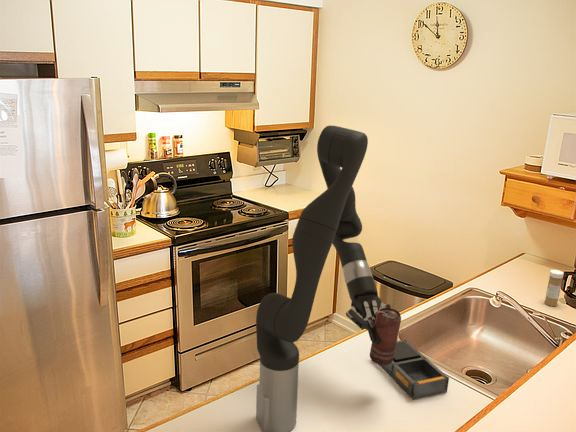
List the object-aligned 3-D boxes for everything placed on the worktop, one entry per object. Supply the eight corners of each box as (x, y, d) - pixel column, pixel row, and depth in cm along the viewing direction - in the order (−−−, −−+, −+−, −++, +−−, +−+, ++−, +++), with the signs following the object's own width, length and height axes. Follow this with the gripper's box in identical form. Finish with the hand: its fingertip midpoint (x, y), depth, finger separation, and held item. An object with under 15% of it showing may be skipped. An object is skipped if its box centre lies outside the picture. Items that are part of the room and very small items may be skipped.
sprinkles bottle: (547, 300, 198) (553, 268, 194) (559, 304, 194) (566, 272, 190) (542, 303, 195) (548, 270, 191) (554, 307, 191) (560, 274, 188)
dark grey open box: (412, 400, 135) (414, 383, 133) (372, 358, 153) (373, 343, 152) (447, 392, 138) (449, 376, 137) (404, 352, 157) (405, 338, 156)
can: (365, 352, 137) (374, 306, 132) (387, 352, 138) (397, 307, 134) (372, 366, 131) (381, 318, 127) (395, 366, 132) (405, 319, 128)
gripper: (342, 277, 133) (361, 342, 125) (386, 272, 137) (407, 335, 130) (332, 288, 139) (349, 350, 131) (374, 283, 143) (393, 343, 136)
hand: (378, 342), depth 130 cm, fingers closed
